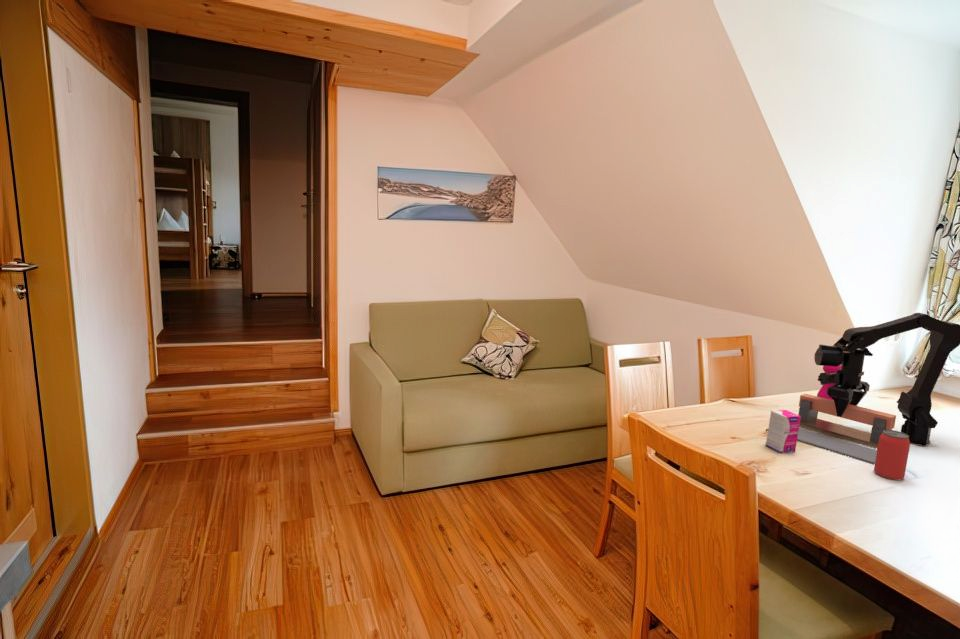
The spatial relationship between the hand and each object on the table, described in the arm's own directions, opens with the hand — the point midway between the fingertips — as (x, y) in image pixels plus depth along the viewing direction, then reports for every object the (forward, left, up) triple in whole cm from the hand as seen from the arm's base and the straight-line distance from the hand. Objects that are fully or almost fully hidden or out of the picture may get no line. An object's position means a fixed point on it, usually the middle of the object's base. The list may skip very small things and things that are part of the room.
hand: (844, 414), depth 173 cm
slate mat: (0, +14, -7) cm, 16 cm away
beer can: (-20, +25, -7) cm, 33 cm away
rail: (0, 0, -1) cm, 1 cm away
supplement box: (+5, +32, -7) cm, 33 cm away
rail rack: (0, 0, -7) cm, 7 cm away
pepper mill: (+14, -26, -7) cm, 30 cm away
